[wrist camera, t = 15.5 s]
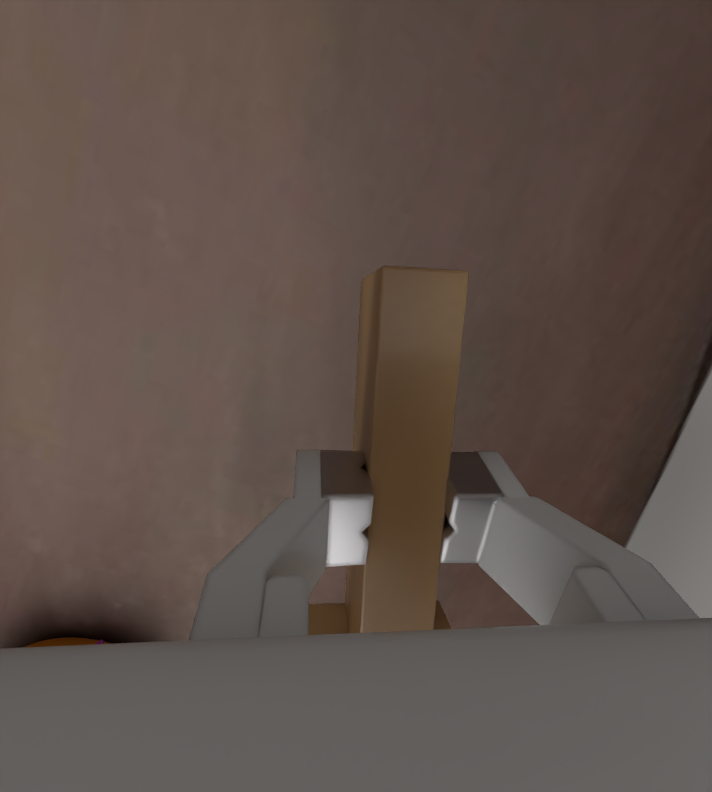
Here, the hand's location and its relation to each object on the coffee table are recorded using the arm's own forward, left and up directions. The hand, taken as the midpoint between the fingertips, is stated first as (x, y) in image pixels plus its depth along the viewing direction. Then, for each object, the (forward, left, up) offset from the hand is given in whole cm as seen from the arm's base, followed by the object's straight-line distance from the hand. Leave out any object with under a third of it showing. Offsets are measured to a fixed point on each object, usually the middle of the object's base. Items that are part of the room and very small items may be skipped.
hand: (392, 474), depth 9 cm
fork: (0, +5, 0) cm, 5 cm away
